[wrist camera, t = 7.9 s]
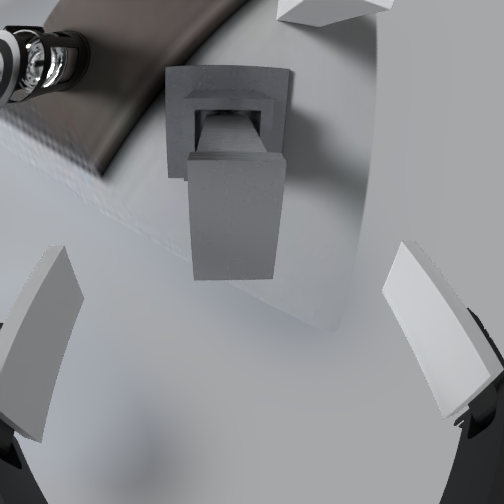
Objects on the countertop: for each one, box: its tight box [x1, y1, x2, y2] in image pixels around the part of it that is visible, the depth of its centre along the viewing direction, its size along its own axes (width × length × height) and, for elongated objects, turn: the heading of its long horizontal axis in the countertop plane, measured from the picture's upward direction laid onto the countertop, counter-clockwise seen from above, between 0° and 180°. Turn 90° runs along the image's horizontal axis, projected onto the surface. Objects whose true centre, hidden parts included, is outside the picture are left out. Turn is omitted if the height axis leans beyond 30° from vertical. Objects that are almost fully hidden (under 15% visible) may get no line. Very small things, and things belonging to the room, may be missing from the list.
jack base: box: [165, 65, 290, 181], centre depth 33 cm, size 16×16×12 cm
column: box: [187, 114, 287, 280], centre depth 23 cm, size 7×4×20 cm, turn 177°
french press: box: [0, 26, 90, 109], centre depth 19 cm, size 12×9×23 cm
